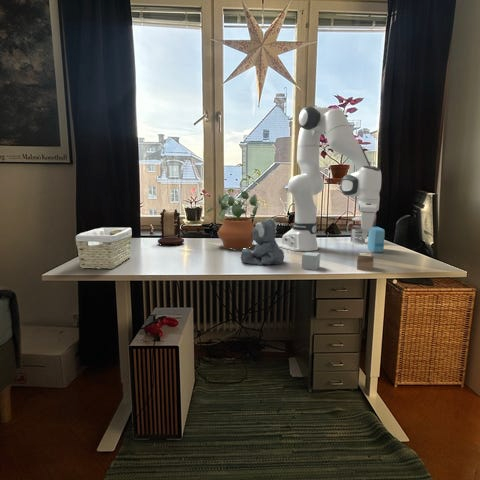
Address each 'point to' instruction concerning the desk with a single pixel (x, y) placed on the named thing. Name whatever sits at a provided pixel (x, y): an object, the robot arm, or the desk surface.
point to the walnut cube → (365, 261)
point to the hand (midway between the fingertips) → (364, 238)
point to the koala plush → (264, 245)
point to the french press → (353, 235)
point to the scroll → (170, 228)
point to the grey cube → (310, 260)
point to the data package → (376, 239)
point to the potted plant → (236, 222)
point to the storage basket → (104, 247)
